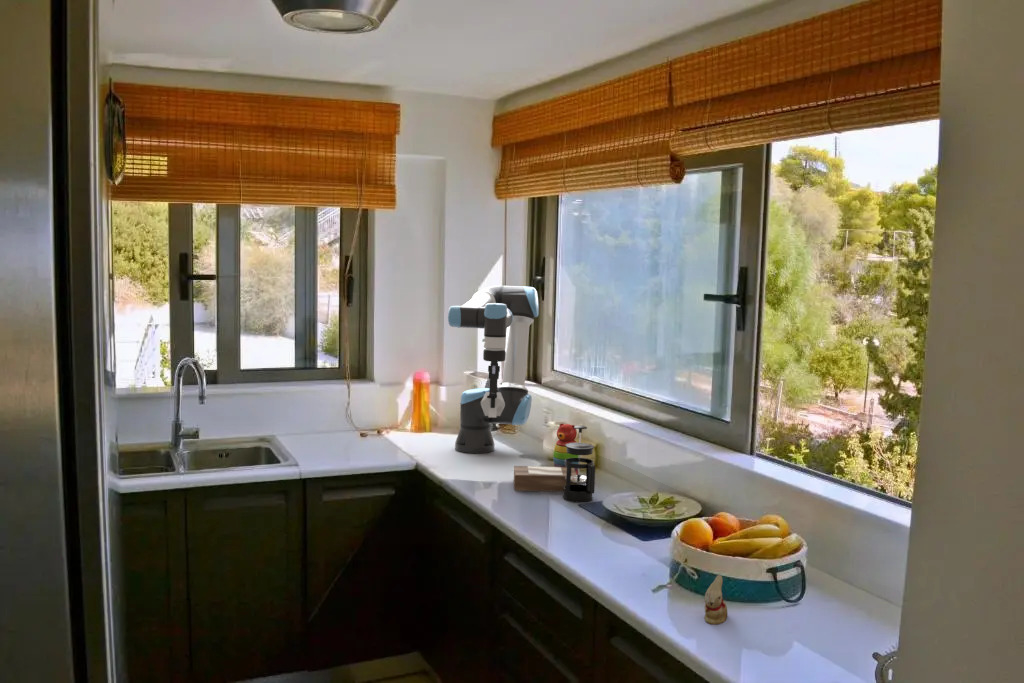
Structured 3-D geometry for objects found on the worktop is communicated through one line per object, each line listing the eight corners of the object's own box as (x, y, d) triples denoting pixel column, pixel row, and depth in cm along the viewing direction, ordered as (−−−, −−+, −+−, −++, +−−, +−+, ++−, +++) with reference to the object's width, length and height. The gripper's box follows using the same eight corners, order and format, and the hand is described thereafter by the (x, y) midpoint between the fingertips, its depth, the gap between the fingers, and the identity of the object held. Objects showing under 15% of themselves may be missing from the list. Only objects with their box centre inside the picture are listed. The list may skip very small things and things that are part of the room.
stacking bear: (543, 474, 312) (545, 423, 310) (562, 469, 319) (564, 420, 317) (568, 480, 305) (570, 428, 303) (586, 475, 312) (588, 424, 310)
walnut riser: (513, 480, 303) (514, 465, 302) (573, 481, 303) (573, 466, 303) (514, 490, 291) (515, 474, 290) (576, 491, 291) (577, 475, 291)
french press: (555, 496, 285) (557, 424, 282) (576, 492, 291) (579, 421, 288) (581, 505, 276) (583, 431, 273) (602, 500, 282) (605, 428, 279)
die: (495, 420, 302) (511, 396, 304) (474, 406, 303) (490, 383, 305) (495, 424, 310) (511, 401, 312) (474, 411, 311) (490, 388, 313)
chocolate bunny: (693, 618, 194) (695, 573, 193) (718, 610, 199) (720, 566, 198) (712, 627, 190) (714, 581, 189) (737, 619, 194) (740, 574, 193)
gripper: (484, 345, 317) (482, 408, 319) (482, 352, 295) (480, 420, 297) (505, 346, 317) (503, 409, 319) (505, 353, 295) (503, 420, 297)
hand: (492, 414), depth 308 cm, fingers closed on die, 9 cm apart
